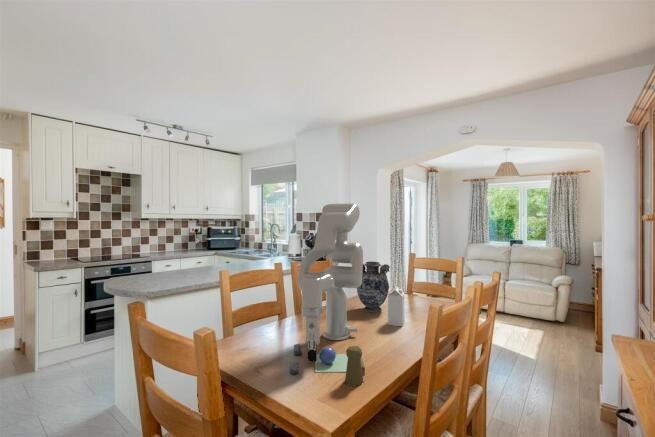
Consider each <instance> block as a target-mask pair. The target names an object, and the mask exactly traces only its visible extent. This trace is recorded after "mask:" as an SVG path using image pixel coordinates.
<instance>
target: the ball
mask: <svg viewBox="0 0 655 437" xmlns="http://www.w3.org/2000/svg"><path fill="white" fill-rule="evenodd" d="M318 354H319V357H320V360H321V361H322V363H324V364H331V363H333V362H334V360H335V358H336V354H337V353H336V351H335V349H334V348H333V347H331V346H324V347H322V349H320V351H319V353H318Z"/></svg>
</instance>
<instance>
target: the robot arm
mask: <svg viewBox="0 0 655 437" xmlns="http://www.w3.org/2000/svg"><path fill="white" fill-rule="evenodd" d="M321 213H322V214H321V215H320V216H319V219H318V223H317V228H316V229H317V230H316V235H315V242H314V246H313V247H312V248H311V250H309V251H308V253H306V255H305V256H304V257H303V259H302V261H301V263H300V267H299V270H298V275H297V276H298V277H297V284H298V285H297V286H298V288H299V290H301V316H302V317H304V330H305V331H304V332H305V334H304V335H305V344H306V345H307V362H315V361H316V354H317V346H319V345H320V341H321V340H320V339H321V336H320V335H321V333H320V328H321V323H320V321H321V320H320V317H321V316H322V315H323V294H325V329H324V330H323V332H322V337H323V338H324V339H327V340H329V341H330V340H331V341H343V340H348V339H349V338H350V337H351V333H358V327H355V326H350V325H348V305H347V304H348V300H347V299H348V297H347V294H346V292H345V290H344V288H346V289H357V288H359V287H360V286H361V284H362V273H363V264H364V251H363V247H362V245H361V244H360V243H359V242H349V241H348V236H349V233H350V232H352V231H353V229H354V227H355V226H356V224H357V222H358V220H359V218H360V213H361V212H360V208H359V206H358V204H356V203H330V204H329V203H328V204H326V205H324V206H322V209H321ZM325 256H328V259H329V261H330V262H331V263H335V264H350V265H351V266H346V265H345V266H344V265H330V266H328V267H326V268H325V269H324V272H314V271H313V272H310V270H311V268H312V265H313V264H314V263H315V262H316V261H317V260H319V259H321V258H323V257H325ZM316 345H317V346H316Z"/></svg>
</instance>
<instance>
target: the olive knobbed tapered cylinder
mask: <svg viewBox="0 0 655 437" xmlns="http://www.w3.org/2000/svg"><path fill="white" fill-rule="evenodd" d="M358 346H359V345H351V346H348V347H347V348H346V351H345V354H346V355H347V357H348V361H347V369H346V372H345V377H344V382H345V384H347V385H348V384H349V386H351V385H355V386H354V387H358V386H357V385H359V386H361V384H362V383H363V384H364V375H363V374H362V366H361V359H360V358H361V357H362V356H363V350H362V348H361V347H360V346H359V347H358ZM362 358H363V357H362ZM363 384H362V385H363Z"/></svg>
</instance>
